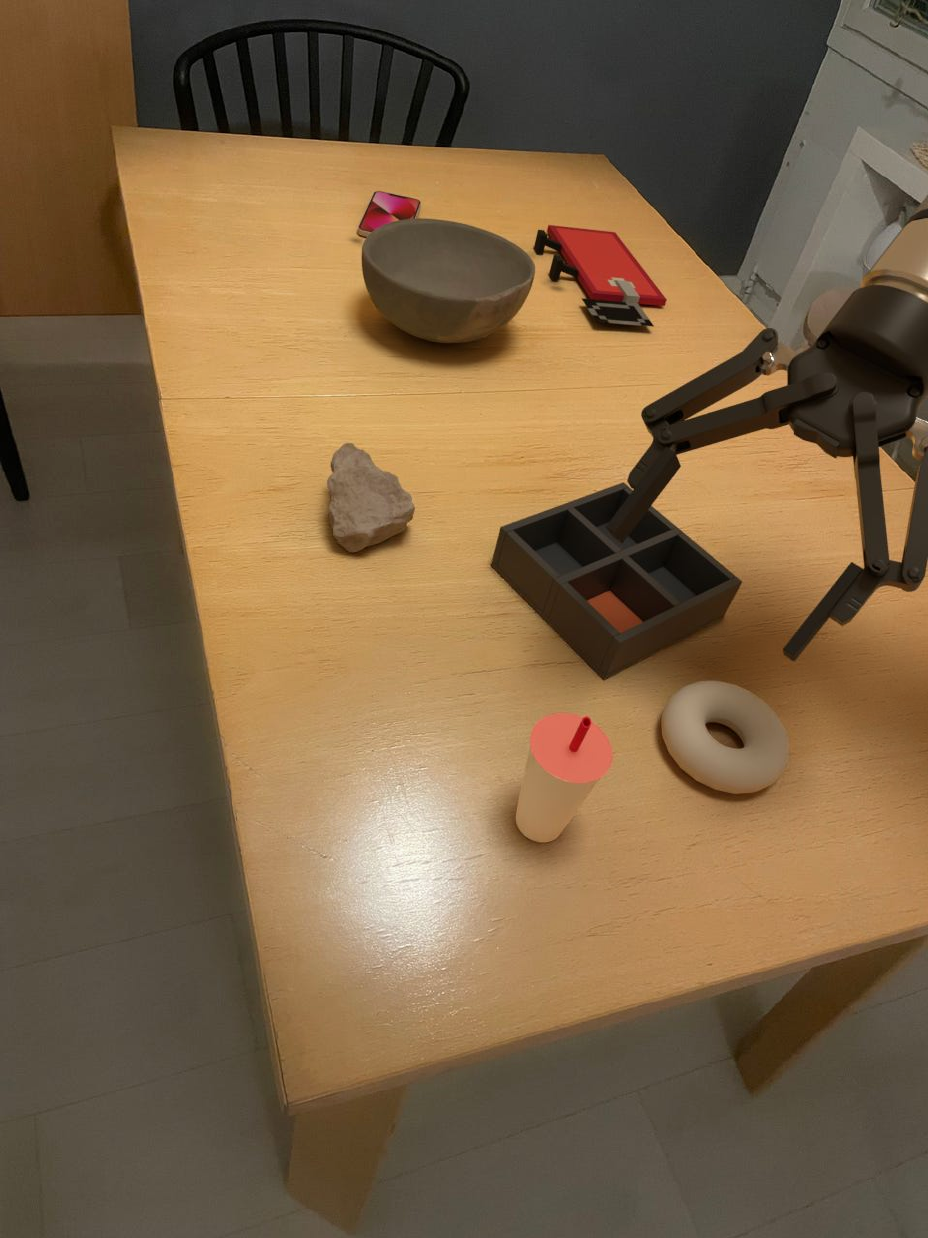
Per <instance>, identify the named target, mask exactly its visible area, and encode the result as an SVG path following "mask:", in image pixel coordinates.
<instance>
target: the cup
mask: <svg viewBox="0 0 928 1238" xmlns="http://www.w3.org/2000/svg"><path fill="white" fill-rule="evenodd" d="M613 751H614V750H613V745H612V743H611V741H610V739H609V738H608V736H607V735H606V733H605V731H603V730H602V729H601V727H600V726H598V725H597V724H595V723H594V722H593V721H592V719H591V717H589V716H582V715H579V714H575V713H571V712H556V713H551V714H548V715H546V716H544V717H542V718H541V719H539V720H538V721H537V722H536V723H535V724H534V726H533V727H532V729H531V732H530V735H529V748H528V753H527V758H526V763H525V768H524V772H523V777H522V781H521V786H520V791H519V796H518V801H517V807H516V812H515V823H516V826H517V828H518V830H519V831H520V832H521V834H522V835H523V836H525V837H526V838H528V840H530V841H533V842H536V843H543V844H545V843H549V842H552V841H555V840H556V839H558V837H560V835H561V834H562V833H563V831H564V829H565V828H566V827H567V825H568V824H569V823H570V822H571V820H572V819H573V818H574V817H575V815H576V814H577V812H578V810H579V809H580V808H581V806H582V805H583V804H584V802H585V801H586V800H587V798H588V797H589V795H590V794H591V792H592V791H593V789H594V788H595V786H596V785H597V784H598V782H599V781H600V780H601V778H603V777H604V776H605V775H606V774H607V773H608V771H609V770H610V769H611V767H612V764H613V759H614V752H613Z"/></svg>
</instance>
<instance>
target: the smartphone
mask: <svg viewBox="0 0 928 1238" xmlns="http://www.w3.org/2000/svg"><path fill="white" fill-rule="evenodd" d="M421 207H422V202H421V200H419V199H418V198H414V197H410V196H405V195H400V194H396V193H391V192H387V191H386V192H385V191H381V190H376V191H373V193H372V195H371V198H370V199H369V202H368V204H367V206H366V208H365V210H364V212H363V214H362V216H361V219H360V221H359V223H358V226H357V234H358V235H360V236H362V237H365V238H367V236H368V235H369V234H370V233H371V232H373V231H374V230H375V229H377V228H378V227H380V226H382V225H385V224H387V223H391V222H394V221H399V220H406V219H415V218H418V217H419V213H420V210H421Z"/></svg>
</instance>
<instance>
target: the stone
mask: <svg viewBox="0 0 928 1238" xmlns="http://www.w3.org/2000/svg"><path fill="white" fill-rule="evenodd" d="M330 460H331V461H330V471H331V474H330V475H329V476H328V477H327V481H326V487H327V490H328V493H329V495H330V502H329V505H328V520H329V522H330V527H331V528H332V536H333V537H334V538H335V540H336V542H337V544H338V545H340V546H341V547H343V548H345V550H346V551H347V552H349V553H356V552H360V551H362V550H363V549H365V548H367V547H370V546H375V545H377V544H379V543H382V542H384V541H386V540H387V539H390V538H391V537H393V536H395V535H397V534H399V533H401V532H403V531H404V530H405V529H406V528H407V525H408V523H410V522H411V521H412V520H413V519H414V514H415V511H416V508H415V507H416V506H415V504H414V502H413V497H412V495H411V493H409V492H408V491H406V490H405V489H404V488H403V487H402V484H401V483H400V480H399V477H398V476H397V475H396V474H394V473H392V472H389V471H387V470H382V469H381V468H380V467H378V466H376V464H375V462H374V460H372V457H371V455H370V454H369V453H368V452H367V451H365V450H364V449H360V448H358V447H356V445H354V443H352V442H346V443H344V444H342V445H341V446H340V447H339V448H338V449H336V450H335V451H334V453H333V454H332V458H331V459H330Z"/></svg>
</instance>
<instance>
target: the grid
mask: <svg viewBox="0 0 928 1238" xmlns="http://www.w3.org/2000/svg"><path fill="white" fill-rule="evenodd" d="M633 490H634V489H632V488H631V487H630V485H629V484H626V482H625V481H623V482H620V483H618V484H615V485H612V486H609V487H607V488H604V489H601V490H598V491H595V492H593V493H589V494H587V495H584V496H582V497H579V498H576V499H573V500H571V501H568V502H565V503H562V504H560V505H556V506H554V507H551V508H548V509H546V510H543V511H541V512H540V511H539V512H538V513H535V514H532V515H530V516H527V517H524V518H522V519H519V520H518V519H517V520H515V521H513V522H511V523H508V524H505V525H502V526H500V527H499V531H498V532H499V533H498V535H497V539H496V543H495V547H494V551H493V555H492V557H491V558H492V559H491V563H490V567H491V568H492V569H494V571H496V573H498V574H499V576H500V577H502V578H503V580H504V581H505V582H506V583H507V584H508V585H509V586H511V588H512V589H513V590H514V591H515V592H516V593H517V594H518V595H519V596H520V597H521V598H522V599H523V600H524V601H525V602H526V603H527V604H528V605H529V606H530V607H531V608H532V609H533V610H534V611H535V612H536V613H537V614H538V615H539V616H540V617H541V618H542V619H543V620H544V621H545V623H547V624H548V625H549V626H550V627H551V629H553V630H554V631H555V632H556V633H557V634H558V635H559V636H560V638H562V640H563V641H565V642H566V644H568V645H569V646H570V648H571V649H573V651H574V652H575V653H576V654H578V656H579V657H581V659H582V660H583V661H584V662H585V663H586V664H587V665H588V666H589V667H590V668H591V669H592V670H593V671H594V672H595V673H596V674H597V676H599V677H600V678H601V679H602V680H603V681H605V680H607V679H609V678H611V677H613V676H615V675H616V674H619V673H620V672H623V671H624V670H626V669H628V668H630V667H632V666H634V665H636V664H638V663H640V662H641V661H643V660H645V659H647V658H649V657H651V656H653V655H655V654H657V653H659V652H660V651H662V650H664V649H666V648H668V647H670V646H672V645H674V644H676V643H678V642H679V641H682V640H683V639H685V638H687V637H689V636H691V635H693V634H695V633H697V632H699V631H701V630H702V629H705V628H707V627H709V626H710V625H712V624H715V623H717V622H718V621H720V620H721V619H724V617H725V615H726V614H727V613H728V610H729V608H730V606H731V605H732V603H733V601H734V599H735V597H736V595H737V594H738V591H739V589H740V588H741V586H742V584H743V581H742V580H741V579H740V578H739V577H738V576H736V574H734V573H733V572H732V571H731V570H729V568H727V567H726V566H724V564H722V563H721V562H720V561H719V560H718V559H716V558H715V557H714V556H713V555H712V554H710V553H709V552H708V551H707V550H705V549H704V547H702V546H701V545H699V544H698V543H697V542H696V541H695V540H693V539H692V538H691V537H690V536H689V535H688V534H687V533H685V532H684V531H683V530H681V528H679V526H678V527H677V525H675V524H674V523H673V522H672V521H670V519H668V518H667V517H666V516H664V514H662V513H661V512H660V511H659V510H658V509H656V508H655V507H654V506H653V505H651V507H650V508H649V509H648V511H647V512H646V513H645V514H644V516H643V517H642V518H641V520H640V521H639V522H638V524H637V525H636V526H635V528H634V529H633V530H632V532H631V533H630V534H629V536H628V537H627V538H626V539H625V541H624V542H623V543H621V542H619V541H618V540H616V539H615V538H614V537H613V536H612V535H611V534H610V532H609V531H608V530H607V528H606V526H607V524H608V523H609V522H610V520H611V519H612V518H613V516H614V515H615V514H616V512H617V511H618V510H619V509H620V507H621V506H622V505H623V503H624V502H625V501H626V499H627V498H628V497H629V495H630V494H631V493H632V491H633Z"/></svg>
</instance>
